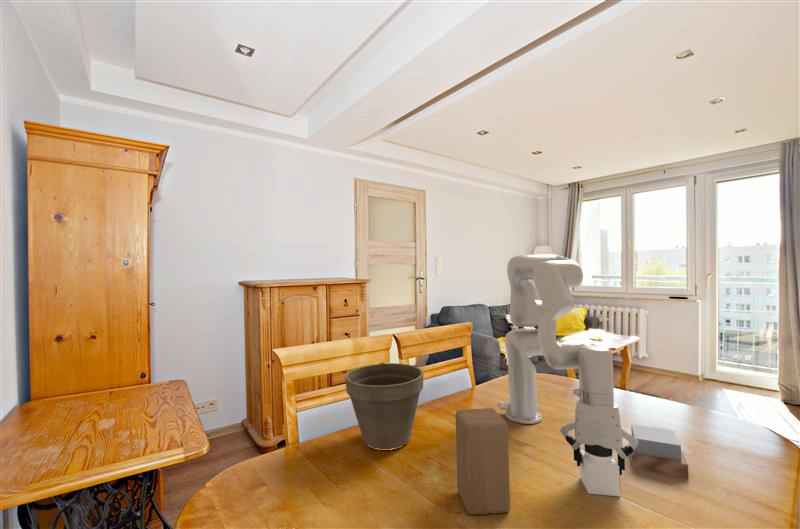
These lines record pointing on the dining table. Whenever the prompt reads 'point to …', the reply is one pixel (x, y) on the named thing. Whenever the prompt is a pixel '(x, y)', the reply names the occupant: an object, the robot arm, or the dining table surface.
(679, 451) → the tower top
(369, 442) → the plant pot
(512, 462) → the dining table surface
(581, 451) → the medicine bottle
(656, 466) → the tower base
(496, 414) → the wooden block
